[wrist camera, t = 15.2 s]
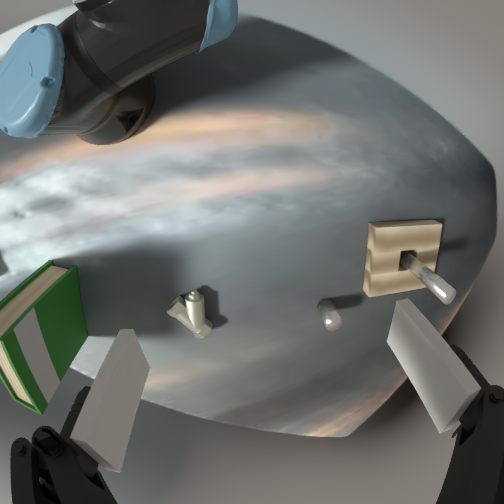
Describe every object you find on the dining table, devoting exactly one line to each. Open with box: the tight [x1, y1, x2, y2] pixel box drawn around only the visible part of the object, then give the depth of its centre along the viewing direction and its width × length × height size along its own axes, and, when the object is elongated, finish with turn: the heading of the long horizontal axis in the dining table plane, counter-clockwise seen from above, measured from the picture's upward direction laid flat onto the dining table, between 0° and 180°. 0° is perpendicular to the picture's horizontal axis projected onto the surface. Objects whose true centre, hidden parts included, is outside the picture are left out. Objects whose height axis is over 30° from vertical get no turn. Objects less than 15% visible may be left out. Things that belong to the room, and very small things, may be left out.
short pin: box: [317, 298, 342, 331], centre depth 46 cm, size 3×3×6 cm
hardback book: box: [0, 260, 88, 415], centre depth 36 cm, size 18×7×24 cm, turn 170°
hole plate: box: [363, 219, 442, 297], centre depth 45 cm, size 13×15×3 cm
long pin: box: [399, 250, 456, 304], centre depth 39 cm, size 3×3×16 cm
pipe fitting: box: [167, 290, 213, 339], centre depth 47 cm, size 8×4×7 cm
